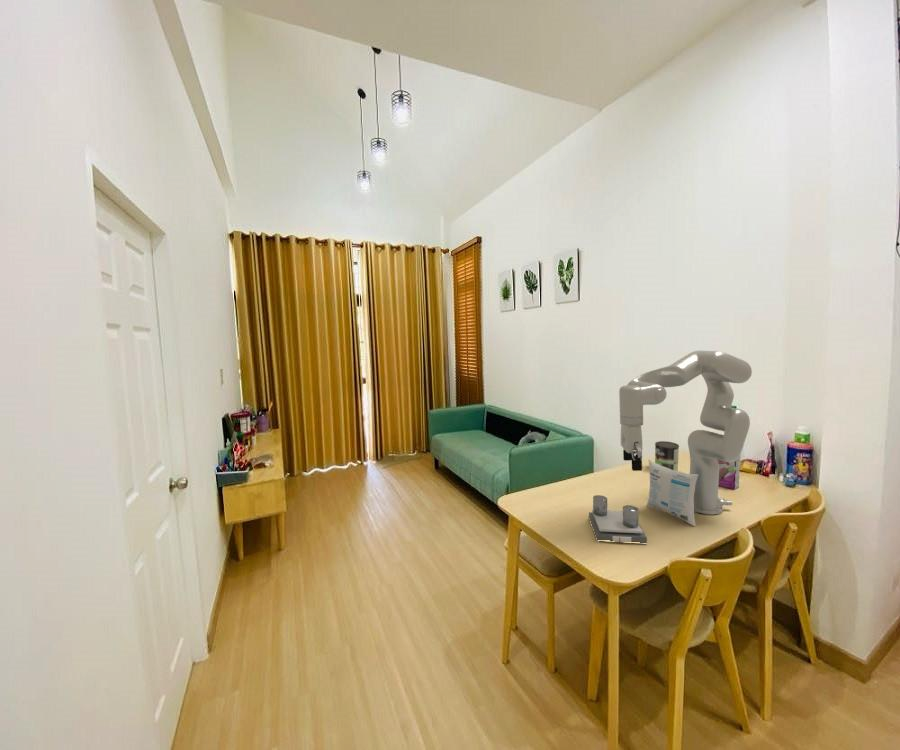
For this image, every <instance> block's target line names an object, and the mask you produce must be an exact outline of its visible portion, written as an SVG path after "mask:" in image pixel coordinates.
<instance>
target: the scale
mask: <svg viewBox="0 0 900 750" xmlns="http://www.w3.org/2000/svg"><path fill="white" fill-rule="evenodd" d="M589 518H590V520H589V522H590V521H591V523H590V525H591V524H592V526H591V528H592V527H593V529H594V531H593V533H594V532H595V534H594V536H595V535H596V537H595V538H597V540H610V541H615V542H640V543H647V544H648V537H647V535H646V533H645V532H644V530H643V529H642V527H641V525H640V524H639V523H638V527H637V528H628V527H626V526H624V525H623V510H608V509H607V516H603V517H602V516H597V515H595V514H594V513H593V509H592V510H591V511H589V512H588V519H589ZM593 529H592V530H593ZM597 540H596V541H597Z"/></svg>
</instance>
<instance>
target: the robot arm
mask: <svg viewBox="0 0 900 750" xmlns="http://www.w3.org/2000/svg"><path fill="white" fill-rule="evenodd" d="M752 373H753V370H752V367H751V365H750V364H749V363H748V362H747V361H746V360H744V359H742V358H738V357H737V356H733V354H729V353H727V352H723V351H719V350H695V351H692V352H690V353H688V354H687V355H684V356H683V357H682V358H680V359H678V360H676V361H675V362H673V363H671V364H669V365H667V366H663V367H660V368H657V369H653V370H650V371H647V372H644V373H642V374H640V375H639V376H636V377H635V378H634V379H633V378H632V379H631V381H629V382H628V383H627V385H622V386H621V387H620V388H619V391H618V392H619V393H618V396H619V400H618V401H619V424H620V446H621V447H622V449H623V452H622V453H623V461H631V471H632V472H640V471H642V470H643V455H642V454H643V433H642V426H643V425H644V406H647V405H649V406H650V405H652V406H653V405H654V406H655V405H659V404H661V403H663V402H664V401H665V399H667V390H666V388H675V387H681V386H683V385H686V384H688V383H690V381H692V380H693V379H696V378H697V377H699V376H700V375H701V376H702V378H703V380H704V382H705V384H706V387H707V388H706V389H707V392H706V398H705V400H704V403H703V406H702V409H701V413H700V416H699V421H700V424H701V425H702V426H704V427H706V428H709V429H713V430H716V431H720V432H724V433H723V434H721V433H717V432H713V431H709V430H704V429H696V430H692V431H691V432H690V433H689V435H688V437H687V445H688V446H687V447H688V451H689V474H698V477H697V480H696V484H695V492H694V513H699V514H702V515H709V516H711V515H712V516H715V515H719V514H722V513H723V506H732V505H733V502H732V500H729V499H725V498H724V497H719V487H720V486H719V464H718V461H717V459H718V460H721V461H725V462H734V461H736V460H737V459H738V458H739V456H740V457H741V455H740V454H742V450H743V448H744V446H745V443H746V440H747V436H748V432H749V429H750V424H751V421H750V416H749V414H748V413H747V412H746V411H745V410H743V409H741V408H736V407H732V405H733V400H734V397H735V395H734V394H735V393H734V390H733V388H732V386H731V384H732V383H733V384H743V383H746V382H747V381H749V380H750V378H751V376H752Z"/></svg>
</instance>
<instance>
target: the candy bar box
mask: <svg viewBox="0 0 900 750" xmlns="http://www.w3.org/2000/svg"><path fill="white" fill-rule="evenodd" d="M741 454H742V453H741ZM741 454H740V456H739V458H738V459H737V460H736V461H734V462H725V461H721V460H718V459H717V461H718V464H719V487H723V488H726V489H730V490H734V491H735V490H736V489H738V488H739V487H740V469H741Z"/></svg>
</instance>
